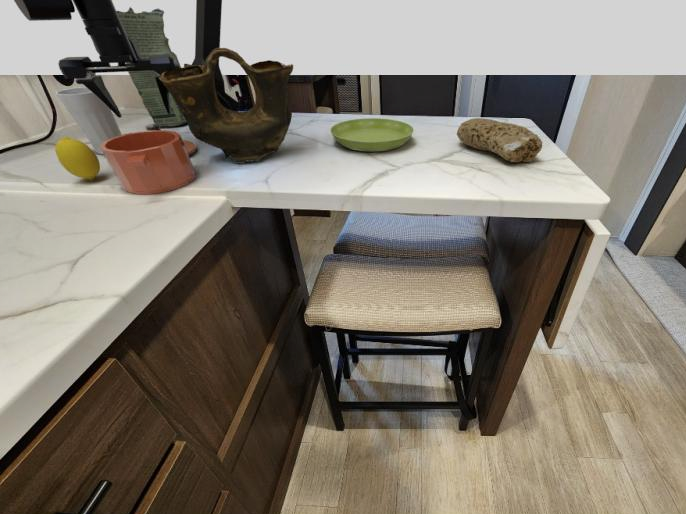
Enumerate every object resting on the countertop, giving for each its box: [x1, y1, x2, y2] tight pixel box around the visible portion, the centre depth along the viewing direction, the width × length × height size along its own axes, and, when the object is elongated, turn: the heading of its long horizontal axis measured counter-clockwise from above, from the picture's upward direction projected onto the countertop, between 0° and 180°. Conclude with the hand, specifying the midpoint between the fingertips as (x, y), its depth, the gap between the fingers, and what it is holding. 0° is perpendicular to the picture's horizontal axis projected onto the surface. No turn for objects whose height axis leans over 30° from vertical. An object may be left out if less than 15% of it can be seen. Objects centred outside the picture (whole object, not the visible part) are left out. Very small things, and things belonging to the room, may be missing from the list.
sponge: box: [456, 117, 543, 163], centre depth 77 cm, size 13×8×20 cm
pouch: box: [116, 6, 187, 127], centre depth 86 cm, size 11×12×25 cm
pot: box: [99, 129, 197, 195], centre depth 63 cm, size 13×18×8 cm
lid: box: [145, 123, 197, 156], centre depth 74 cm, size 14×14×6 cm
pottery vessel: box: [159, 47, 294, 164], centre depth 69 cm, size 25×11×20 cm, turn 116°
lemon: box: [54, 136, 101, 181], centre depth 62 cm, size 6×6×8 cm
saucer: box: [330, 117, 415, 153], centre depth 83 cm, size 21×21×3 cm
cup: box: [55, 86, 123, 155], centre depth 74 cm, size 8×8×12 cm
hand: (145, 115), depth 70 cm, fingers open, 9 cm apart
